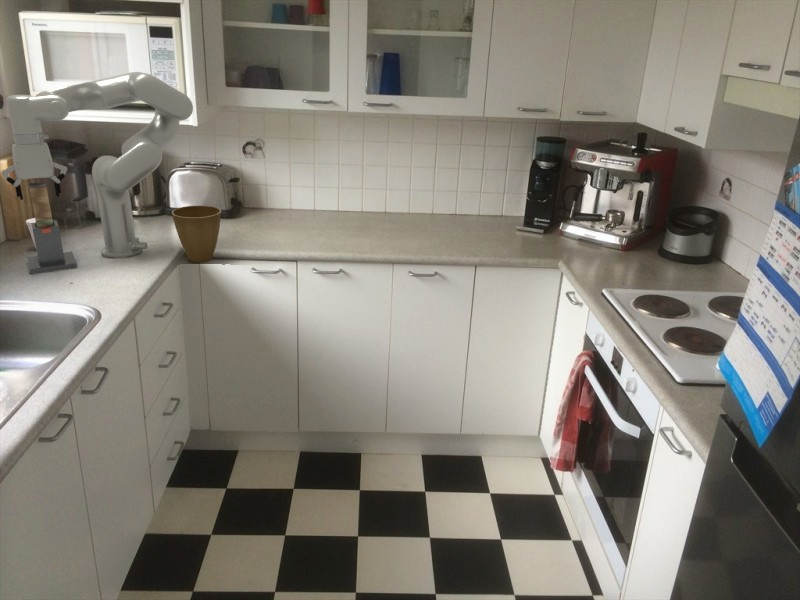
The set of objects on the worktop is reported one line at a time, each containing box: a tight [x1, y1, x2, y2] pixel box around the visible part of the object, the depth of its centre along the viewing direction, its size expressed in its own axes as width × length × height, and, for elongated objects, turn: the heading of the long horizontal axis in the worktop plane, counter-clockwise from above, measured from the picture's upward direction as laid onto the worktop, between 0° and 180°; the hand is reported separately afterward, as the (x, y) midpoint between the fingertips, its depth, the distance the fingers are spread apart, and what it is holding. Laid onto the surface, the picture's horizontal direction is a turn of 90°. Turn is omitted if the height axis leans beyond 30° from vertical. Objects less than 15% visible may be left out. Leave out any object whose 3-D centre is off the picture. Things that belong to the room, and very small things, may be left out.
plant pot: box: [171, 205, 222, 263], centre depth 211 cm, size 15×15×16 cm
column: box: [28, 181, 54, 227], centre depth 199 cm, size 4×4×18 cm
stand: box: [26, 219, 78, 275], centre depth 203 cm, size 13×13×13 cm
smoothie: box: [25, 217, 36, 249], centre depth 217 cm, size 6×6×14 cm
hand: (39, 197), depth 197 cm, fingers open, 9 cm apart
